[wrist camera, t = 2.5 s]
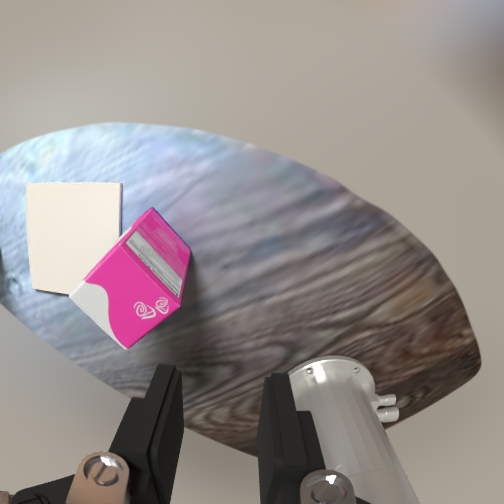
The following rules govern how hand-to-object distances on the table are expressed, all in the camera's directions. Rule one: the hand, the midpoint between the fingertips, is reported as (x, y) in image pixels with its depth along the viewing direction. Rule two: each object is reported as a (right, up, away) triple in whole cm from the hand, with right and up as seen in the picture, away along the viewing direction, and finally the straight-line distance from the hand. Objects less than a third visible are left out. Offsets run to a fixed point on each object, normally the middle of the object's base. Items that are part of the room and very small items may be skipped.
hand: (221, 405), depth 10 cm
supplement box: (-9, +6, +20) cm, 23 cm away
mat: (-18, +6, +20) cm, 27 cm away
